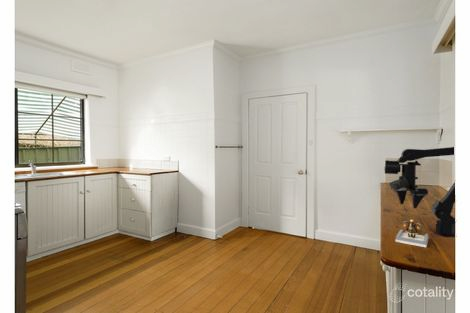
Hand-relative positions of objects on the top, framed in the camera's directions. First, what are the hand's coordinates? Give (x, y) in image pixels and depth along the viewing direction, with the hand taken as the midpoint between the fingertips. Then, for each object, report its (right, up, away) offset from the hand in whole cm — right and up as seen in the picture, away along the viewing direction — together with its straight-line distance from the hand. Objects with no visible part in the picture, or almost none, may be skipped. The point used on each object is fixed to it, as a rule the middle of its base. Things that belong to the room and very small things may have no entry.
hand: (408, 206), depth 129 cm
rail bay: (-7, -13, -13) cm, 20 cm away
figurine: (-7, -12, -13) cm, 19 cm away
